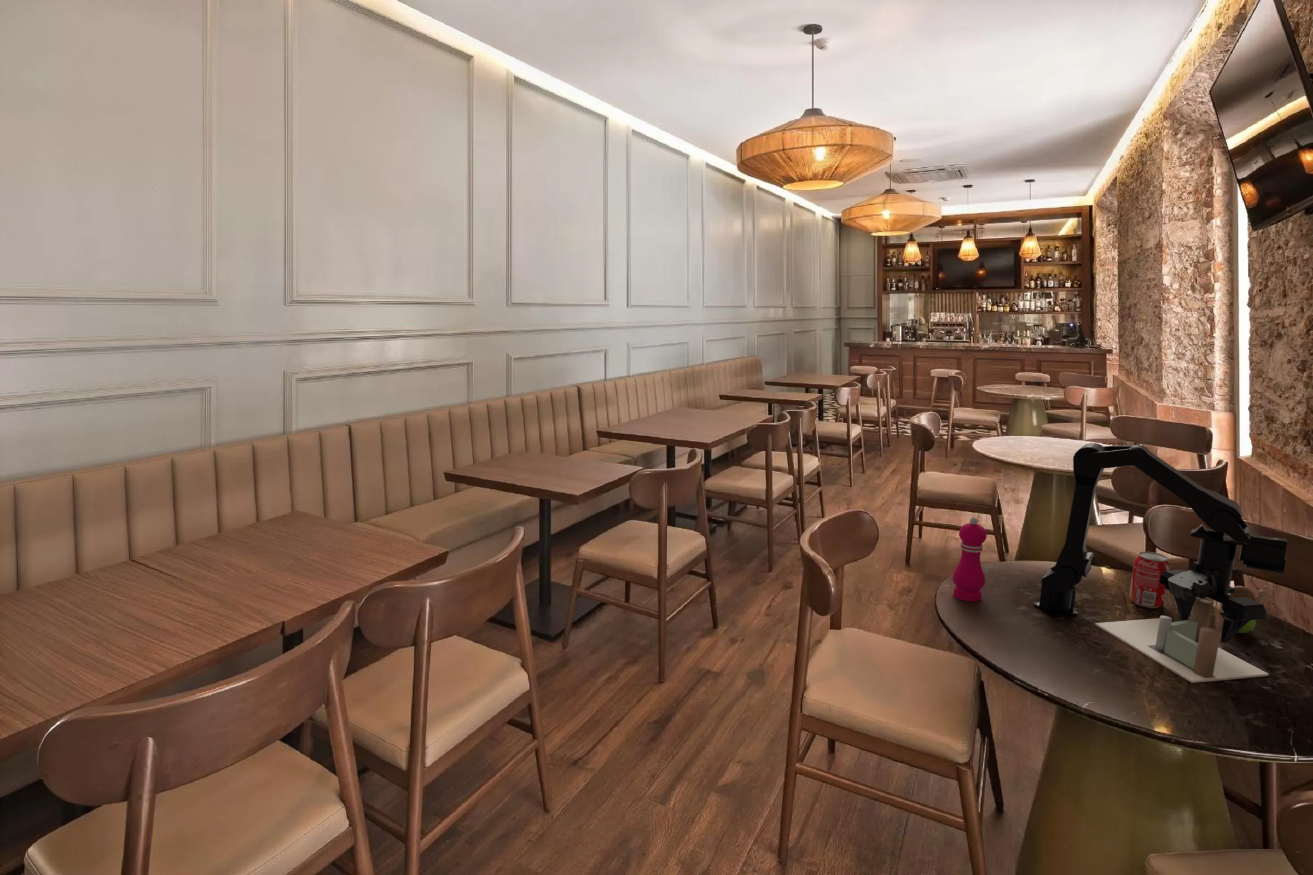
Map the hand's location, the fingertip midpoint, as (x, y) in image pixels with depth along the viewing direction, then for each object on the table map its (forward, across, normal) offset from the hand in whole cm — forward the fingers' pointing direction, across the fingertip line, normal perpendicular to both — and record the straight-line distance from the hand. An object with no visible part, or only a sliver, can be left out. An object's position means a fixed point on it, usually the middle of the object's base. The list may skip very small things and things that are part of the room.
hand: (1203, 631), depth 145 cm
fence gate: (+3, -1, -3) cm, 4 cm away
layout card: (+4, 0, -6) cm, 7 cm away
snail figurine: (+4, -4, +14) cm, 16 cm away
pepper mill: (+4, -30, -34) cm, 45 cm away
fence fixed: (+3, +5, -10) cm, 11 cm away
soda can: (+4, -20, +6) cm, 22 cm away
